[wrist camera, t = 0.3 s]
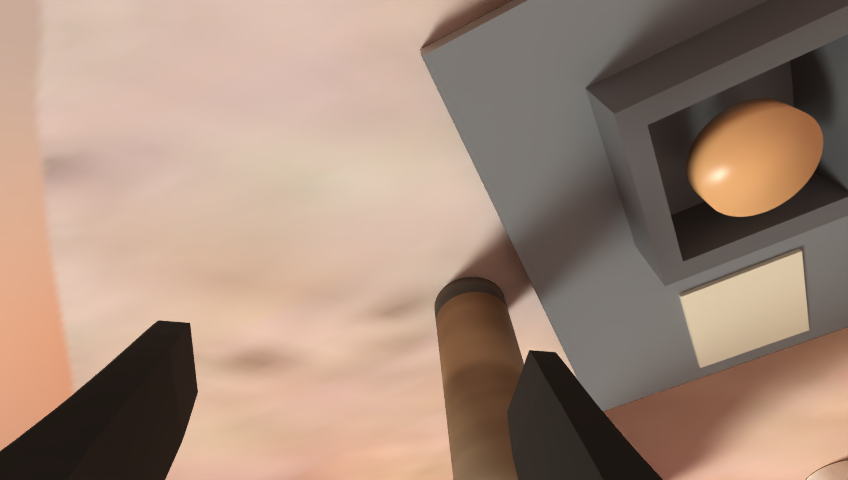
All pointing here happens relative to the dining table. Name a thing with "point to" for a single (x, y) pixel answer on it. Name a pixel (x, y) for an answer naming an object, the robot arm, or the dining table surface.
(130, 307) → the dining table surface
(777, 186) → the breaker button
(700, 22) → the switch panel
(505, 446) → the brown cylinder
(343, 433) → the dining table surface
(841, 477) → the tube
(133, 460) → the robot arm
